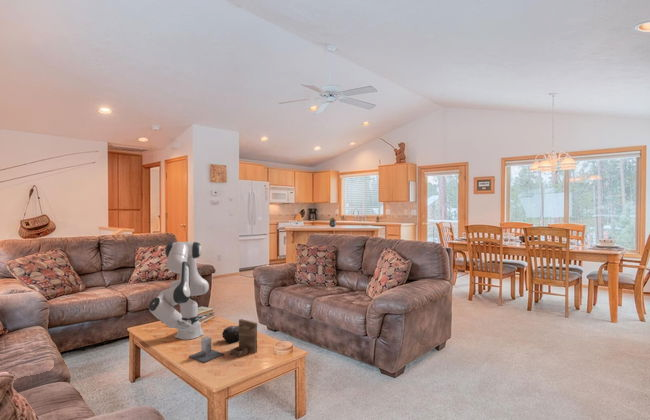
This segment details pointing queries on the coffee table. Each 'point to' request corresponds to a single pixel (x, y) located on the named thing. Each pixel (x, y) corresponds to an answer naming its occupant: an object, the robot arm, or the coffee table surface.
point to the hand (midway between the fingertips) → (188, 331)
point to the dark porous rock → (231, 334)
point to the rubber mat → (205, 359)
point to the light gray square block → (206, 346)
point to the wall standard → (246, 338)
